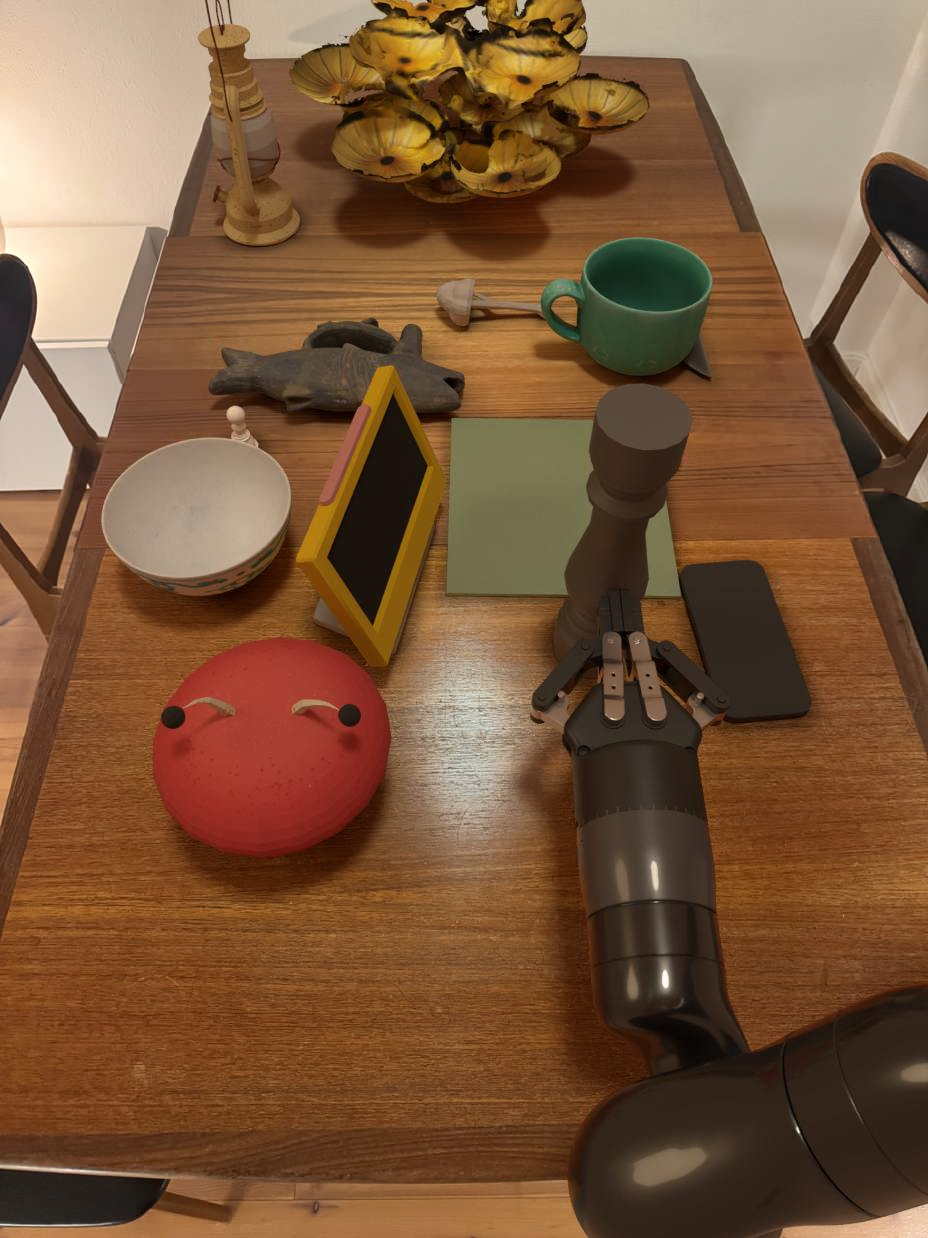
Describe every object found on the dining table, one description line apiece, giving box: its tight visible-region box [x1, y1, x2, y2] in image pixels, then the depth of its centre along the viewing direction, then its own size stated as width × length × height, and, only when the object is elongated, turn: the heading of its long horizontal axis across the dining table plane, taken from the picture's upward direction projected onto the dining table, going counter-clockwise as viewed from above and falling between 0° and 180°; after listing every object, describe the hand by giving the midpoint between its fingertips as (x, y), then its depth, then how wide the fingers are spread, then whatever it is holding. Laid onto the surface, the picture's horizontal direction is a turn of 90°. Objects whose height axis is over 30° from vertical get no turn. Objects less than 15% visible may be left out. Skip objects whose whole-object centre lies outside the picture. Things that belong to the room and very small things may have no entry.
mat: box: [445, 417, 682, 600], centre depth 80 cm, size 20×22×1 cm
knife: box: [682, 331, 713, 379], centre depth 94 cm, size 14×4×1 cm, turn 1°
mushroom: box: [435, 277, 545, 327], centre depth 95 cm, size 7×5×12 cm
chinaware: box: [100, 437, 293, 597], centre depth 73 cm, size 15×15×8 cm
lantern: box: [197, 0, 301, 247], centre depth 94 cm, size 12×10×30 cm
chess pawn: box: [225, 405, 259, 448], centre depth 82 cm, size 3×3×5 cm
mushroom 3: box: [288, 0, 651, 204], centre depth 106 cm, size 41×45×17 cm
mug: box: [540, 236, 714, 377], centre depth 89 cm, size 17×13×10 cm
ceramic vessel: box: [207, 317, 466, 414], centre depth 88 cm, size 5×25×15 cm
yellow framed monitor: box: [295, 365, 448, 668], centre depth 69 cm, size 20×8×16 cm, turn 167°
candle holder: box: [552, 383, 694, 680], centre depth 61 cm, size 6×6×25 cm
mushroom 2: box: [152, 636, 393, 859], centre depth 58 cm, size 16×16×15 cm
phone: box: [679, 559, 812, 723], centre depth 72 cm, size 7×1×15 cm
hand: (616, 595), depth 60 cm, fingers closed
